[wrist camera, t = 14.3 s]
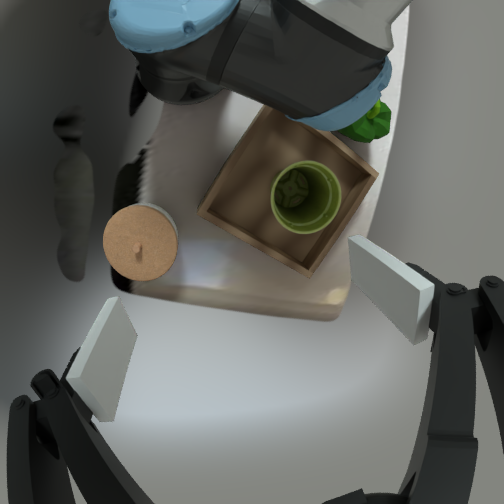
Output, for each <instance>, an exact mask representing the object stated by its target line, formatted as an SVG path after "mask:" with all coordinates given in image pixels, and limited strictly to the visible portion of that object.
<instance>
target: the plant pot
mask: <svg viewBox="0 0 504 504" xmlns="http://www.w3.org/2000/svg"><path fill="white" fill-rule="evenodd" d="M285 173H286V175H284V174H285ZM283 175H284V176H283ZM300 177H302V178H303V180H304V182H305V184H303V183H302V180H301V179H300ZM289 187H291V188H292V190H289ZM270 192H271V207H272V211H273V213H274V215H275V217H276V219H277V220H278V222H279V223H280V224H281V225H282V226H283V227H285V228H286V229H288V230H290V231H292V232H295V233H298V234H310V233H314V232H317V231H319V230H321V229H323V228H324V227H326V226H327V225H328V224H329V223H330V222H331V221H332V220H333V219H334V217H335V216H336V214H337V212H338V210H339V207H340V203H341V187H340V184H339V181H338V179H337V177H336V176H335V174H334V173H333V172H332V171H331V170H330V169H329V168H328V167H326V166H325V165H323V164H321V163H318V162H315V161H299V162H296V163H293V164H291V165H289V166H288V167H286V168H285V169H284V170H282V171H280V172H278V173H277V174H276V175H275V176H274V178H273V179H272V182H271V186H270ZM275 192H276V194H277V196H278V197H279V200H278V199H277V198H276V196H275V195H274V193H275ZM299 198H300V201H299V202H297V203H294V204H293V202H294V201H296V200H298V199H299Z"/></svg>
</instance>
